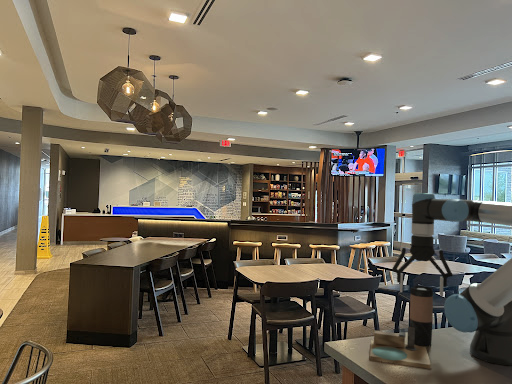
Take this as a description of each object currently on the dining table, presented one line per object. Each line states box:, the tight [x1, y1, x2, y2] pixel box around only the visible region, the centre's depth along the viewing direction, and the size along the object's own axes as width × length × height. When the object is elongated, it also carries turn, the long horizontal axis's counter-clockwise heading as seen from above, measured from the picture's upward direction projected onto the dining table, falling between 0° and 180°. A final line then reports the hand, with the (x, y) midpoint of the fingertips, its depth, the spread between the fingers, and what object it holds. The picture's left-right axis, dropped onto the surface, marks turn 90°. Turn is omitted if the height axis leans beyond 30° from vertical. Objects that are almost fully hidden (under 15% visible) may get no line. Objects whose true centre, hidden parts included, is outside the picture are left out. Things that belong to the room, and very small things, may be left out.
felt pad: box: [372, 347, 407, 360], centre depth 130 cm, size 11×11×1 cm
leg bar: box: [373, 330, 406, 348], centre depth 137 cm, size 10×3×4 cm, turn 69°
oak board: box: [369, 326, 432, 370], centre depth 132 cm, size 18×16×8 cm
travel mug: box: [409, 285, 434, 348], centre depth 144 cm, size 8×8×20 cm
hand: (420, 293), depth 145 cm, fingers open, 13 cm apart
